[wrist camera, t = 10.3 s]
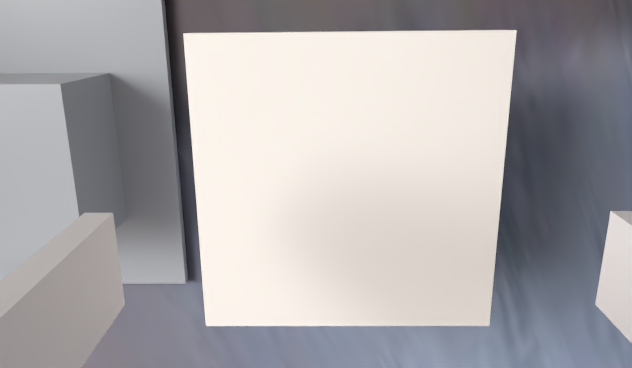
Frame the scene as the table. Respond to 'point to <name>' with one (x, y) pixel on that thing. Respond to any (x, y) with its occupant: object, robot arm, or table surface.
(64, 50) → the stand
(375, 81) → the white flat square block
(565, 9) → the table surface
